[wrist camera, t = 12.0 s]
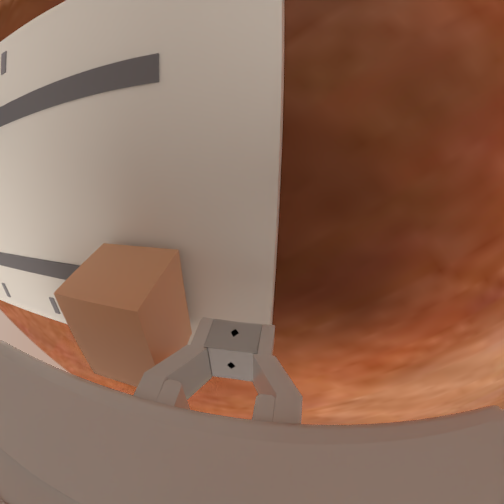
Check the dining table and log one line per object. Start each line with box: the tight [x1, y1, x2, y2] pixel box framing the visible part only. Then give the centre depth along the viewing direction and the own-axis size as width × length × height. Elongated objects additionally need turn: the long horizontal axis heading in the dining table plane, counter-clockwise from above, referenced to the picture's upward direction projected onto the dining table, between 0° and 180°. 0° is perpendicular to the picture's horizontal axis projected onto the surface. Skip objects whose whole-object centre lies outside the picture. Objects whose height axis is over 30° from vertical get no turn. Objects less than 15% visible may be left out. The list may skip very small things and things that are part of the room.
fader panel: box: [0, 0, 284, 345], centre depth 13 cm, size 28×20×2 cm
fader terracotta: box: [54, 243, 192, 387], centre depth 12 cm, size 4×5×4 cm
